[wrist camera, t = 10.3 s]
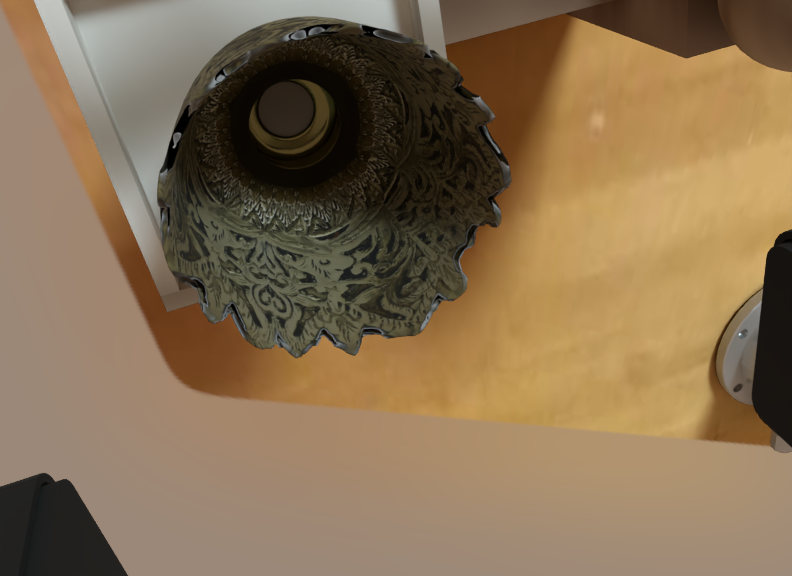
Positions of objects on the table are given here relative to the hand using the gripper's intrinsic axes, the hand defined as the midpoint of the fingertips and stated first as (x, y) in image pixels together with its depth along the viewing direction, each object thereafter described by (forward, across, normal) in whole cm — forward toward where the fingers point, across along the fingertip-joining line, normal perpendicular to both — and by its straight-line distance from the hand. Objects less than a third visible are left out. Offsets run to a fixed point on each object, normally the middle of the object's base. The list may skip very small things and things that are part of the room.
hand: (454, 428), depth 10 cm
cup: (+15, 0, 0) cm, 15 cm away
